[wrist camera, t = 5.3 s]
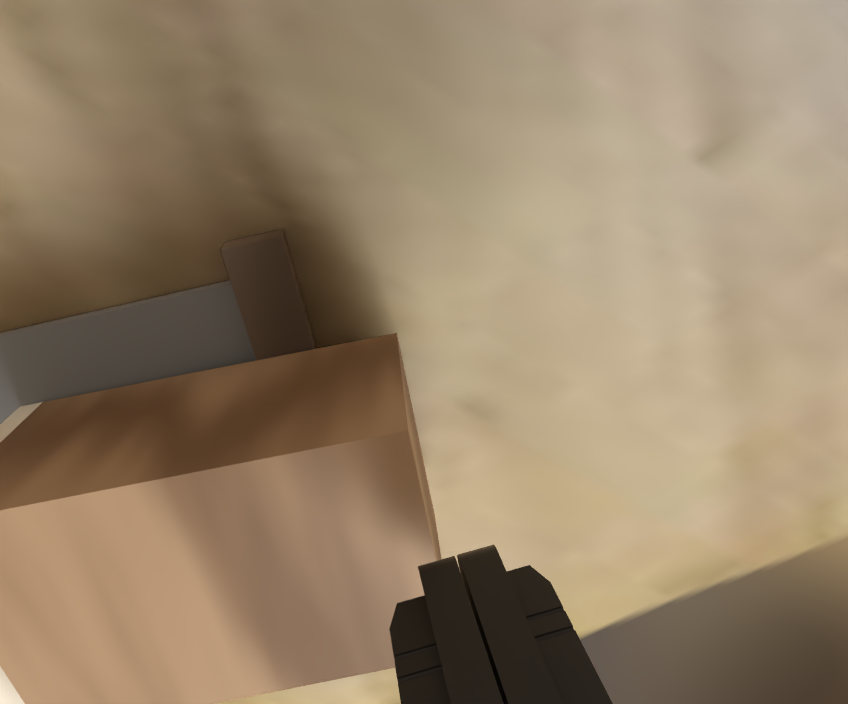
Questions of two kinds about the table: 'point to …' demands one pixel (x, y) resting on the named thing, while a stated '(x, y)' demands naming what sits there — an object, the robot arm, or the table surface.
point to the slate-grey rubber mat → (122, 346)
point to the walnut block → (212, 531)
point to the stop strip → (268, 294)
